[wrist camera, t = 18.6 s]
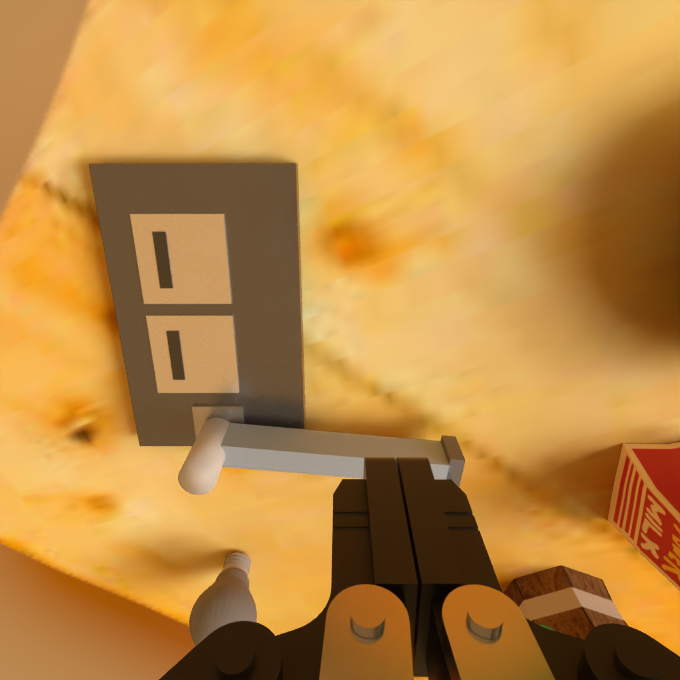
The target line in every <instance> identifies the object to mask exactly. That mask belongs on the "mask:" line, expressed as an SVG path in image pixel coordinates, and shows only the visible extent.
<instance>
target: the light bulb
mask: <svg viewBox="0 0 680 680" xmlns="http://www.w3.org/2000/svg"><path fill="white" fill-rule="evenodd" d="M250 563H251V562H250V559H249V557H248V556H247V555H245V554H243V553H239V552H236V553H232V554H230V555H228V556H227V558H226V560H225V563H224V567H223V571H222V572H221V573H220V574H219V575H218V577H217V579H216V581H215V583H214V584H213V585H211V586H210V587H209V588H208V589H207V590H205V591H204V592H203V593H202V594H201V595H200V596H199V598H198V599H197V601H196V603H195V604H194V606H193V608H192V611H191V615H190V620H189V626H190V633H191V636H192V639H193V642H194V643H195V645H196V646H197V645H198V644H199V643H200V642H201V641H202V640H203V639H204V638H206V637H207V636H208V635H209V634H210V633H212V632H213V631H214V630H216V629H218V628H219V627H221V626H223V625H226V624H228V623H232V622H236V621H252V622H256V618H257V612H256V605H255V602H254V600H253V597H252V595H251V593H250V591H249V580H248V572H249V567H250Z"/></svg>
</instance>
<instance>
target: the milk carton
mask: <svg viewBox="0 0 680 680" xmlns="http://www.w3.org/2000/svg"><path fill="white" fill-rule="evenodd" d="M608 521H609V522H610V523H611V524H612V525H613V526H614V527H615V528H616V529H617V530H618V531H619V532H620V533H621V534H622V535H623V536H624V537H625V538H626V539H627V540H628V541H629V542H630V543H631V544H632V545H633V546H634V547H635V548H636V549H637V550H638V551H639V552H640V554H642V555H643V556H644V557H645V558H646V559H647V560H648V561H649V562H650V563H651V564H652V565H653V566H654V567H655V568H656V569H657V570H658V571H659V572H661V573H662V574H663V575H664V576H665V577H666V578H667V579H668V580H669V581H670V582H671V583H672V584H673V585H674V586H675V587H676V588H677V589H678V590H680V442H676V443H670V444H624V443H623V445H622V449H621V454H620V458H619V463H618V467H617V472H616V476H615V480H614V486H613V491H612V497H611V503H610V508H609V514H608Z"/></svg>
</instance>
